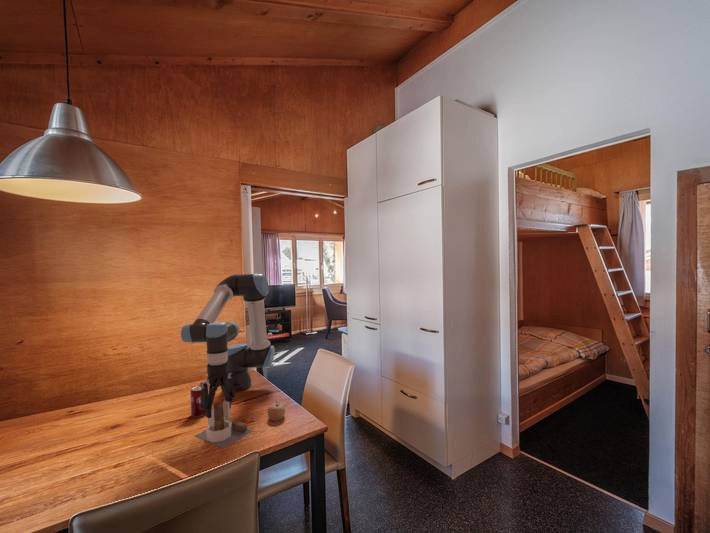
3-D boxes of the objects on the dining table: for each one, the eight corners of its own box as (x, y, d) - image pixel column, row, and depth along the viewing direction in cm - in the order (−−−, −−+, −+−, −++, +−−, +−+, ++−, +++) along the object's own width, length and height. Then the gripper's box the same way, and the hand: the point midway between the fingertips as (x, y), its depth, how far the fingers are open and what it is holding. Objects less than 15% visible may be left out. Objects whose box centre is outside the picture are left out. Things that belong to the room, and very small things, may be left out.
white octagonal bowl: (222, 427, 130) (222, 418, 130) (236, 433, 126) (236, 423, 126) (202, 438, 123) (201, 428, 123) (216, 444, 118) (216, 434, 118)
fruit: (267, 417, 140) (267, 399, 140) (284, 415, 143) (284, 397, 143) (268, 425, 133) (267, 406, 133) (286, 422, 135) (285, 404, 135)
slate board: (224, 422, 137) (224, 420, 137) (253, 433, 127) (253, 430, 127) (193, 438, 125) (193, 435, 125) (223, 451, 115) (222, 448, 115)
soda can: (211, 410, 149) (211, 385, 149) (202, 417, 142) (202, 391, 142) (197, 410, 150) (196, 384, 150) (187, 417, 143) (186, 390, 143)
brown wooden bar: (220, 431, 126) (219, 401, 126) (224, 432, 125) (223, 402, 124) (214, 434, 124) (213, 403, 124) (218, 435, 123) (217, 405, 122)
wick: (222, 425, 132) (222, 419, 132) (227, 423, 134) (227, 417, 134) (241, 432, 126) (241, 426, 126) (246, 429, 128) (246, 423, 128)
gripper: (232, 355, 134) (233, 409, 134) (188, 368, 118) (189, 430, 118) (244, 357, 130) (245, 413, 130) (200, 371, 114) (202, 435, 114)
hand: (219, 421), depth 124 cm, fingers open, 6 cm apart
